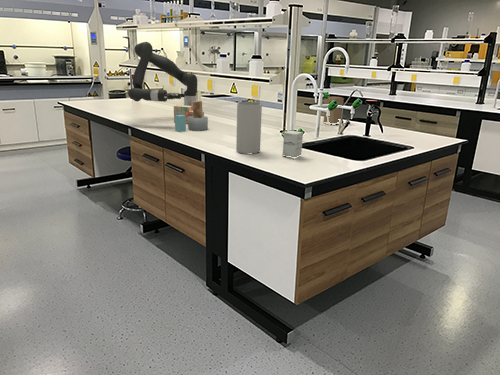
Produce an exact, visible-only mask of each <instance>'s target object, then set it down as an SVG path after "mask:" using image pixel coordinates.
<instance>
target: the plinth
mask: <svg viewBox="0 0 500 375" xmlns="http://www.w3.org/2000/svg"><path fill="white" fill-rule="evenodd" d="M187 127H188V128H187V129H189V130H188V131H191V130H192V131H193V132H194V131H195V132H204V131H205V132H206V131H208V130H209V129H208V128H209V117H208V116H205V115H204V116H202V117H201V118H196V117H193V116H189V117H188V124H187Z"/></svg>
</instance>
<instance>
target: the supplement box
mask: <svg viewBox="0 0 500 375" xmlns="http://www.w3.org/2000/svg"><path fill="white" fill-rule="evenodd" d="M303 136H304V132H303V131H302V132H301V131H296V130H287V131H284V132H283V144H282V145H283V146H282V156H283V155H285V156H291V157H297V156H299V155H301V156H302V150H303V138H304V137H303Z"/></svg>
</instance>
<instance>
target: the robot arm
mask: <svg viewBox="0 0 500 375" xmlns="http://www.w3.org/2000/svg"><path fill="white" fill-rule="evenodd" d="M153 51H154V50H153V46H152V43H150V42H148V41H144V42H143V41H142V42H140V43H139V42H138V43H137V44H136V45H134V53H135V54H136V55H137V56H138V57H139V61H138V64H137V66H136V68H135V70H134V72H133V76H132V81H131V84H132V86H133V87H132V88H130V89H129V90H128V91H127V95H128V97H129V98H130V99H132V101H134V102H140V101H141V100H144V101H146V102H148V101H150V102H152V101H153V102H162V103H163V102H165V103H166V102H167V101H168V100H176V99H177V100H181V99H182V98H183V102H184V103H183V106H193V102H194V101H197V92H198V77H197V76H196V74H193V73H187V72H186V71H183V70H182V69H180V68H179V67H178V66H177V63H175V62H174V61H172V60H171V59H169V58H168V57H165V56H163V55H160V54H157V53H154V52H153ZM149 64H152V65H153V66H155V67H157V68H158V69H160V70H161V71H163V72H164V73H165V74H167V75H169V76H171V77H173V78H175V79H176V80H177V81H179V83H181V84H182V85H184V86H186V90H184V92H183V93H179V92H168V91H167V89H144V87H143V86H144V82H145V81H144V80H145V75H146V72H147V68H148V65H149Z"/></svg>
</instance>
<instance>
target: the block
mask: <svg viewBox="0 0 500 375" xmlns="http://www.w3.org/2000/svg"><path fill="white" fill-rule="evenodd" d="M328 97H329V98H328V99H326V98H325V99H324V100H325V103H324V105H325V104H328V103H329V102H330V101H332V100H335V101H337V102H338V105H342V106H343V107H344V100H345V98H344V97H341V96H328ZM323 113H324V114H323V123H324V122H327V117H326V112H324V111H323ZM340 118H341V109H339V108H336V109H334V110H333V111H331V112H330V118H329V122H330V123H337V122H339V120H338V119H340Z"/></svg>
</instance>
